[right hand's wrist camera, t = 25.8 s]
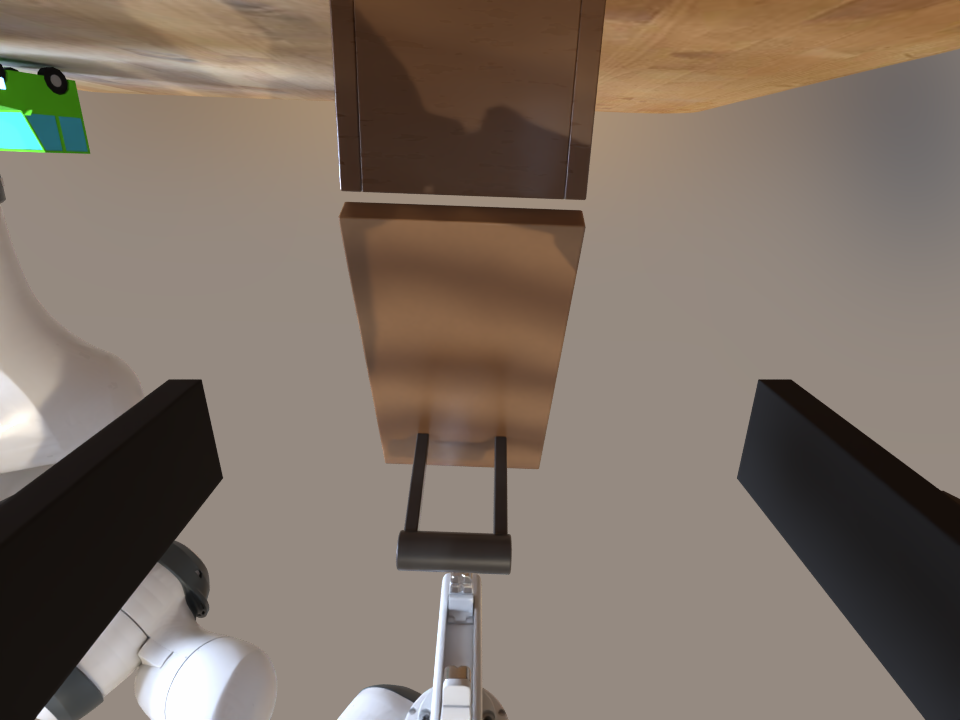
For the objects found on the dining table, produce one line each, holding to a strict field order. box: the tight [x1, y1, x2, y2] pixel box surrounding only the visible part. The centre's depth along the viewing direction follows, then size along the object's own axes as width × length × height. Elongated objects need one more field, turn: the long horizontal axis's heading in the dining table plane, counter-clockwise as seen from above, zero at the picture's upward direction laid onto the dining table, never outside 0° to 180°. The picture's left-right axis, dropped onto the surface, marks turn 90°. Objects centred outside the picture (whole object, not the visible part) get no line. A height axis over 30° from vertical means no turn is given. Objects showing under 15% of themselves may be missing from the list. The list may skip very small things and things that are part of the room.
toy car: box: [0, 64, 90, 154], centre depth 64 cm, size 10×13×10 cm
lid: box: [338, 202, 585, 574], centre depth 25 cm, size 18×10×9 cm
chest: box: [330, 0, 606, 200], centre depth 27 cm, size 17×10×11 cm, turn 1°
